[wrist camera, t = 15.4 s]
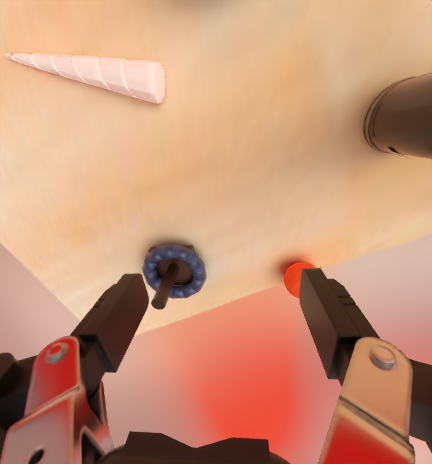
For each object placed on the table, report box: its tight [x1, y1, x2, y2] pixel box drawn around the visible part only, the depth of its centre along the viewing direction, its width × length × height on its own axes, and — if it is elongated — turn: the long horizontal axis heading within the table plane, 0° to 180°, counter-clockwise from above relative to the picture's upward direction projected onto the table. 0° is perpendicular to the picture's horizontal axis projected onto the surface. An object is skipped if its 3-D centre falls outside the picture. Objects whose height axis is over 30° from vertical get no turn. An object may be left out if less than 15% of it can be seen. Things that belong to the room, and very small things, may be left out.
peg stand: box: [149, 246, 194, 309], centre depth 40 cm, size 9×9×12 cm
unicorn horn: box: [4, 53, 166, 104], centre depth 28 cm, size 5×24×5 cm, turn 77°
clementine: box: [284, 262, 321, 298], centre depth 40 cm, size 8×7×7 cm
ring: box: [142, 244, 206, 298], centre depth 42 cm, size 13×13×3 cm
